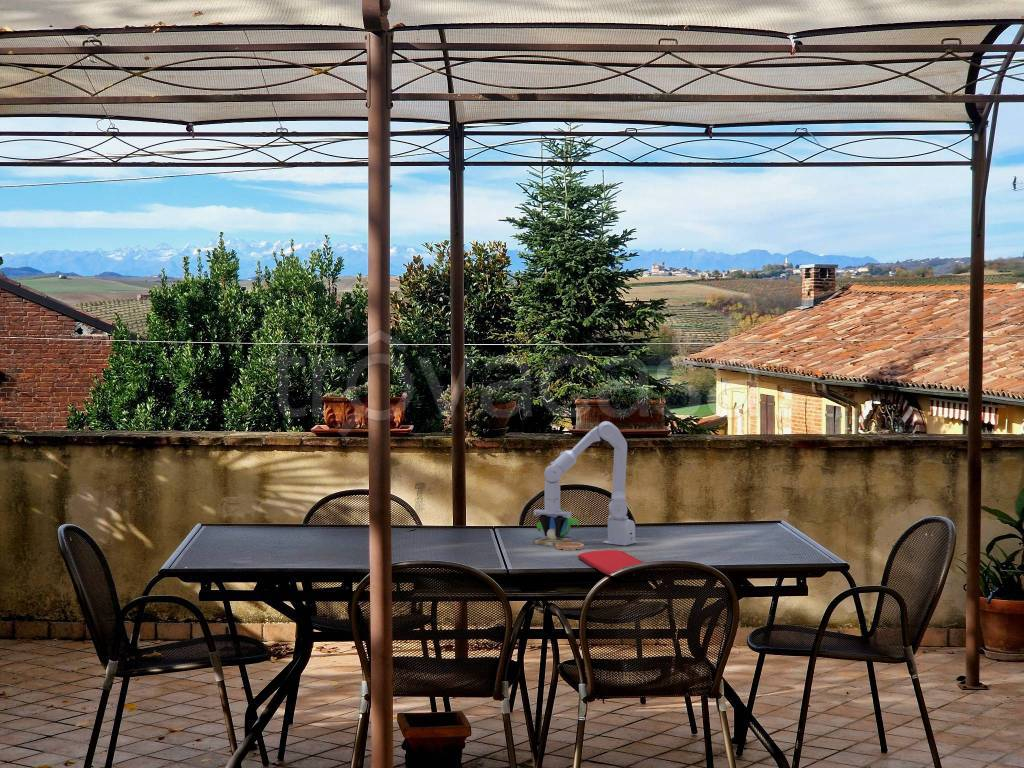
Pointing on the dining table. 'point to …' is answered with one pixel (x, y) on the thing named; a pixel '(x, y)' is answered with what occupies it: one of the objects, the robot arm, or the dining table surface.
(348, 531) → the dining table surface
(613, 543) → the robot arm
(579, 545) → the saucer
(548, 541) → the tray
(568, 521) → the snack cup
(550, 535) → the ball
